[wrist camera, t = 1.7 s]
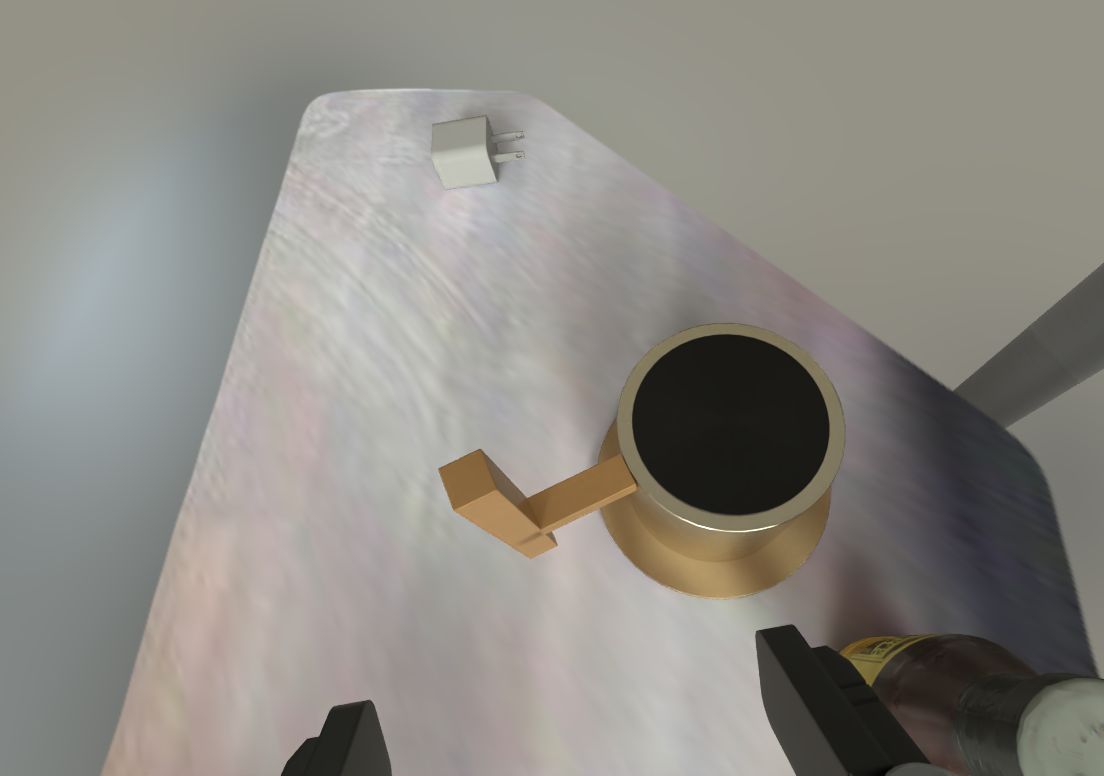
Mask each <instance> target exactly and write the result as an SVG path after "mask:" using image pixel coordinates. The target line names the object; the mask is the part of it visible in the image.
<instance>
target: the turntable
mask: <svg viewBox="0 0 1104 776" xmlns="http://www.w3.org/2000/svg"><path fill="white" fill-rule="evenodd" d="M618 454H621V450H620V445H619V439H618V432H617V419H616V420H615V421H614V423H613V425H612V426H611V428H610V430H609V431H608V433H607V435H606V438H605V440H604V442H603V445H602V448H601V452H600V455H599V459H598V464H600V463H602V462H604V461H606V460H608V459H610V458H612V457H614V456H616V455H618ZM830 491H831V486H829V487H828V489H827V490H826V492H825V493H824V494H823V495H822V496H821V497H820V499H819V500H818V501H817V502H816V503H815V504H814V505H813V506H812V507H810V508H809V509H808V510H807V511H806V512H805V513H804V514H802V515H801V516H800V517H799V518H798V519H797V520H796V521H794V522H793V523H792V524H791V525H790V526H789V527H788V528H786V529H785V530H784V531H783V532H782V533H781V534H780V535H778V536H777V537H776V538H775V539H774V540H773V541H772V542H770V543H769V544H768V545H766V546H765V547H764V548H763V549H761V550H759V551H757V552H756V553H754V554H752V555H749V556H747V557H744V558H741V559H737V560H733V561H727V562H706V561H699V560H695V559H691V558H688V557H685V556H683V555H680V554H678V553H676V552H674V551H672V550H671V549H669V548H667V547H666V546H664V545H663V544H662V543H660V542H659V541H658V540H657V539H656V538H655V537H654V536H653V535H652V534H651V533H650V532H649V531H648V530H647V529H646V527H645V526H644V525H643V524H642V522H641V520H640V519H639V517H638V515H637V513H636V511H635V509H634V506H633V504H632V501H631V497H630V494H628V495H626V496H624V497H621V498H619V499H617V500H615V501H613V502H611V503H609V504H607V505H605V506H603V507H601V508H600V509H601V513H602V516H603V519H604V521H605V524H606V526H607V528H608V531H609V532H610V534H611V536H612V538H613V539H614V541H615V543H616V544H617V546H618V547H619V548H620V550H621V551H622V552H623V554H624V555H625V556H626V557H627V558H628V559H629V560H630V561H631V562H632V564H633V565H634V566H635V567H637V568H638V569H639V570H640V571H642V572H643V573H644V574H645V575H647V576H648V577H649V578H651V579H653V580H654V581H656V582H658V583H659V584H661V585H663V586H665V587H667V588H670V589H672V590H674V591H676V592H680V593H683V594H686V595H690V596H694V597H700V598H706V599H730V598H740V597H744V596H748V595H752V594H756V593H758V592H760V591H763V590H765V589H768V588H770V587H772V586H774V585H776V584H777V583H779V582H781V581H783V580H784V579H786V578H787V577H788V576H790V575H791V574H792V573H793V572H795V571H796V570H797V569H798V568H799V567H800V566H801V565H802V564H803V563H804V562H805V561H806V560H807V558H808V557H809V556H810V554H811V553H812V551H813V550H814V548H815V547H816V546H817V544H818V542H819V540H820V537H821V535H822V533H823V531H824V528H825V525H826V522H827V518H828V514H829V507H830Z"/></svg>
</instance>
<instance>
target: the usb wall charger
mask: <svg viewBox="0 0 1104 776" xmlns="http://www.w3.org/2000/svg"><path fill="white" fill-rule="evenodd" d="M516 134H521V137H517V136H516ZM523 138H524V134H523V131H519V132H510V133H503V134H497V135H493V132H492V128H491V125H490V122H489V119H488V117H487V115H485V116H479V117H473V118H467V119H461V120H455V121H449V122H442V123H436V124H433V126H432V148H431V155H432V161H433V164H434V166H435V168H436V171H437V173H438V175H439V177H440V179H441V181H442V183H443V185H444V187H445V189H446V190H448V189H455V188H462V187H468V186H475V185H482V184H489V183H495V182H498V163H499V162H505V161H512V160H517V159H522V158H525V155H524V151H517V152H509V153H502V154H498V149H497V144H496V143H501V142H507V141H514V140H518V139H523ZM517 154H522V156H520V157H518V156H516V155H517Z"/></svg>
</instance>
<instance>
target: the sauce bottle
mask: <svg viewBox="0 0 1104 776" xmlns="http://www.w3.org/2000/svg"><path fill="white" fill-rule="evenodd" d="M839 654H840V655H842V656H843V657H845V658H847V659H848V660H850V661H851V663H852V664H853V665H854V666H855V668H856V669H857V670H858V671H859V673H860V674H861V675H862V676H863V678H864V679H865V680H866V683H867V685H868V684H869V685H870V687H871V688H872V689H873V690H874V692H875V693H876V694H877V695H878V697H879V700H880V701H882V702H883V703H884V704H885V706H886V707H887V708H888V709H889V711H890V712H891V713H892V714H893V716H894V717H895V718H896V719H897V721H898V722H899V723H900V724H901V726H902V727H903V728H904V730H905V731H906V732H907V733H908V735H909V736H910V737H911V738H912V740H913V741H914V742H915V743H916V745H917V746H918V747H919V749H920V750H921V751H922V752H923V754H924V755H925V756H926V757H927V759H928V760H929V761H930V762H931V764H932V765H935V766H938V767H941V768H944V769H946V770H948V771H950V772H952V773H954V774H956V775H958V776H1104V679H1101V678H1095V677H1090V676H1082V675H1077V674H1071V673H1045V674H1042V675H1039V674H1038V673H1037V672H1036V671H1034V670H1033V669H1032V668H1031V667H1030V666H1029V665H1028V664H1026V663H1025V662H1024V661H1023V660H1022V659H1021V658H1019V657H1018V656H1017V655H1015V654H1014V653H1012V652H1011V651H1009V650H1008V649H1006V648H1004V647H1002V646H1001V645H999V644H996V643H994V642H991V641H989V640H986V639H983V638H980V637H975V636H971V635H963V634H934V635H909V636H889V637H871V638H864V639H861V640H858V641H855V642H853V643H851V644H850V645H848V646H846V647H845V648H843V650H841V651H840V652H839Z"/></svg>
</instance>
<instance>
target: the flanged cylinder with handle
mask: <svg viewBox="0 0 1104 776" xmlns="http://www.w3.org/2000/svg"><path fill="white" fill-rule="evenodd" d="M617 432H618V439H619V445H620V450H621V454H618V455H616V456H614V457H612V458H610V459H608V460H606V461H604V462H602V463H600V464H597V465H595V466H593V467H591V468H589V469H587V470H585V471H583V472H581V473H579V474H577V475H575V476H573V477H570V478H568V479H566V480H564V481H562V482H560V483H558V484H556V485H554V486H552V487H550V488H548V489H546V490H544V491H541V492H539V493H537V494H535V495H533V496H531V497H529V498H526V496H525V495H524V494H523V493H522V492H521V491H520V490H519V489H518V488H517V487H516V486H515V485H514V484H513V483H512V482H511V480H510V479H509V478H508V477H507V476H506V475H505V474H504V473H503V472H502V471H501V470H500V469H499V468H498V467H497V466H496V464H495V463H494V462H493V461H492V460H491V459H490V458H489V457H488V456H487V455H486V454H485V453H484V452H483V451H482V450H481V449H478V450H476V451H474V452H472V453H470V454H468V455H466V456H464V457H462V458H460V459H458V460H455V461H453V462H451V463H449V464H447V465H445V466H443V467H441V468H439V473H440V476H441V478H442V481H443V484H444V486H445V489H446V492H447V494H448V497H449V500H450V502H451V505H452V508H453V510H454V511H455V512H456V513H458V514H460V515H461V516H463V517H464V518H466V519H468V520H469V521H471V522H472V523H474V524H476V525H477V526H479V527H480V528H482V529H484V530H485V531H487V532H488V533H490V534H492V535H493V536H495V537H496V538H498V539H500V540H501V541H503V542H504V543H506V544H508V545H509V546H511V547H512V548H514V549H516V550H517V551H519V552H520V553H522V554H524V555H525V556H527V557H528V558H530V559H532V558H534V557H536V556H538V555H540V554H542V553H544V552H546V551H548V550H550V549H552V548H554V547H556V546H558V544H557V542H556V540H555V537H554V535H553V533H552V531H553V530H555V529H557V528H559V527H562V526H564V525H566V524H568V523H570V522H572V521H574V520H576V519H578V518H580V517H582V516H584V515H586V514H588V513H590V512H593V511H595V510H597V509H599V508H601V507H603V506H605V505H607V504H609V503H611V502H613V501H615V500H617V499H619V498H621V497H624V496H626V495H628V494H630V497H631V501H632V504H633V506H634V509H635V511H636V513H637V515H638V517H639V519H640V520H641V522H642V524H643V525H644V526H645V527H646V529H647V530H648V531H649V532H650V533H651V534H652V535H653V536H654V537H655V538H656V539H657V540H658V541H659V542H660V543H662V544H663V545H664V546H666V547H667V548H669V549H671V550H672V551H674V552H676V553H678V554H680V555H683V556H685V557H688V558H691V559H695V560H699V561H706V562H727V561H733V560H737V559H741V558H744V557H747V556H749V555H752V554H754V553H756V552H757V551H759V550H761V549H763V548H764V547H765V546H766V545H768V544H769V543H770V542H772V541H773V540H774V539H775V538H776V537H777V536H778V535H780V534H781V533H782V532H783V531H784V530H785V529H786V528H788V527H789V526H790V525H791V524H792V523H793V522H794V521H796V520H797V519H798V518H799V517H800V516H801V515H802V514H804V513H805V512H806V511H807V510H808V509H809V508H810V507H812V506H813V505H814V504H815V503H816V502H817V501H818V500H819V499H820V497H821V496H822V495H823V494H824V493H825V492H826V490H827V489H828V487H829V486H830V485H831V483H832V482H833V480H834V478H835V476H836V474H837V472H838V470H839V467H840V464H841V461H842V457H843V454H844V447H845V420H844V413H843V409H842V406H841V402H840V399H839V397H838V395H837V392H836V390H835V388H834V386H833V384H832V382H831V381H830V379H829V378H828V376H827V374H826V373H825V372H824V371H823V369H822V368H821V367H820V366H819V364H818V363H817V362H816V361H815V360H814V359H813V358H812V357H811V356H810V355H809V354H808V353H806V352H805V351H804V350H803V349H801V348H800V347H799V346H797V345H796V344H794V343H793V342H791V341H789V340H787V339H786V338H784V337H782V336H780V335H778V334H775V333H773V332H771V331H768V330H765V329H762V328H758V327H755V326H749V325H744V324H734V323H717V324H708V325H702V326H697V327H694V328H690V329H687V330H684V331H682V332H679V333H677V334H674V335H673V336H671V337H669V338H667V339H665V340H664V341H662V342H661V343H659V344H658V345H657V346H655V347H654V348H652V349H651V350H650V351H649V352H648V353H647V354H646V355H645V356H644V357H643V358H642V359H641V360H640V362H639V363H638V364H637V365H636V367H635V368H634V369H633V371H632V373H631V374H630V376H629V378H628V379H627V382H626V384H625V386H624V388H623V391H622V394H621V398H620V401H619V406H618V414H617Z"/></svg>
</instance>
